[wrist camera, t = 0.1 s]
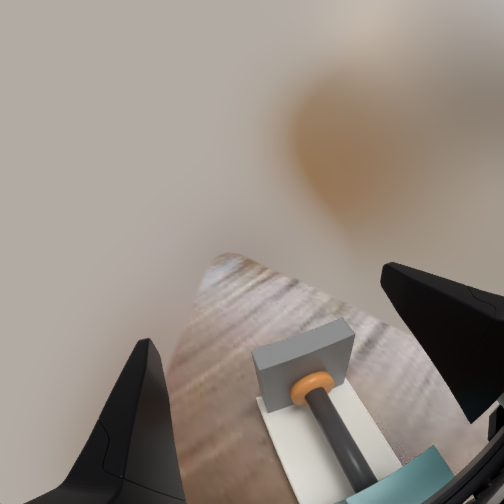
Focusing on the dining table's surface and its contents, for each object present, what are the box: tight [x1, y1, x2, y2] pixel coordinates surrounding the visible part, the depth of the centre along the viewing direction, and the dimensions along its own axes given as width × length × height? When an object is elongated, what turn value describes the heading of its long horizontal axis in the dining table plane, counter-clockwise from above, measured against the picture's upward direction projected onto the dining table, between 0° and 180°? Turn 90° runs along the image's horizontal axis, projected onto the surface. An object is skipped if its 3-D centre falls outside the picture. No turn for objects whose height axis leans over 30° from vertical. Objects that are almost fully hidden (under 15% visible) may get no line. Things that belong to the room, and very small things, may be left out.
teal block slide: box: [251, 318, 403, 504], centre depth 13 cm, size 18×8×8 cm, turn 17°
